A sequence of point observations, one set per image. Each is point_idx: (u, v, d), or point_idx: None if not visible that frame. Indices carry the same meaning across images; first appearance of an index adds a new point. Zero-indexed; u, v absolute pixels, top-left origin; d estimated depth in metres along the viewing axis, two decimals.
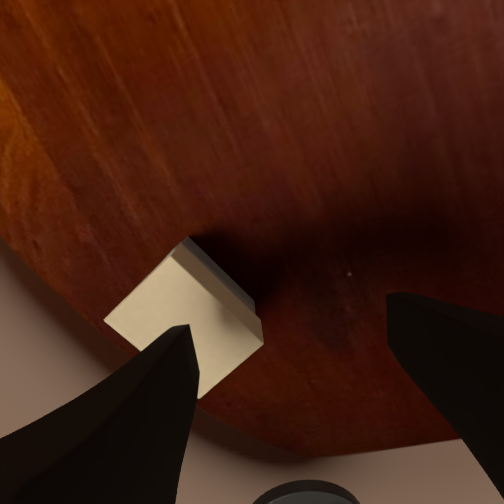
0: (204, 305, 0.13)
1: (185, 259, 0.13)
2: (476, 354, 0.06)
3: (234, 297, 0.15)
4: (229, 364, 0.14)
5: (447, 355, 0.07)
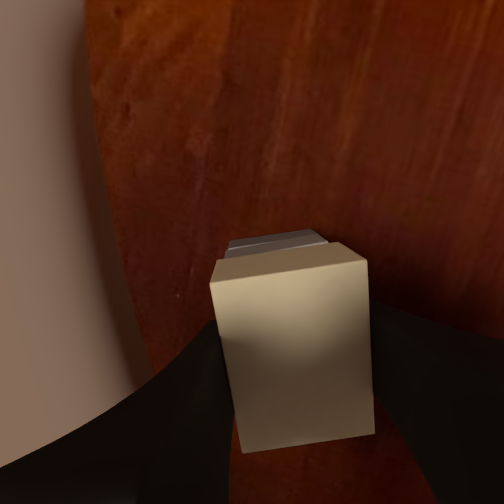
0: (352, 348, 0.08)
1: None
2: (415, 363, 0.06)
3: None
4: (315, 434, 0.09)
5: (394, 363, 0.07)
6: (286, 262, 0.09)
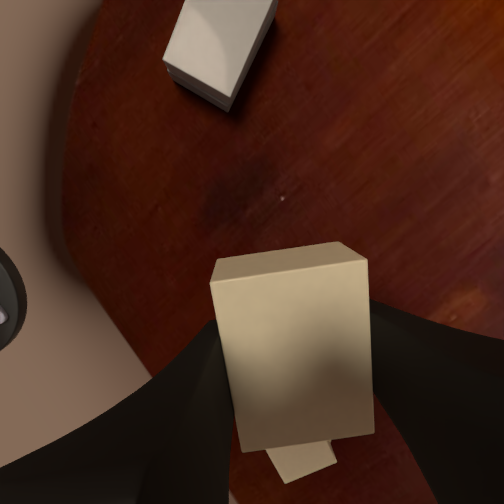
0: (351, 347, 0.08)
1: None
2: (415, 363, 0.06)
3: None
4: (315, 433, 0.09)
5: (394, 363, 0.07)
6: (286, 261, 0.09)
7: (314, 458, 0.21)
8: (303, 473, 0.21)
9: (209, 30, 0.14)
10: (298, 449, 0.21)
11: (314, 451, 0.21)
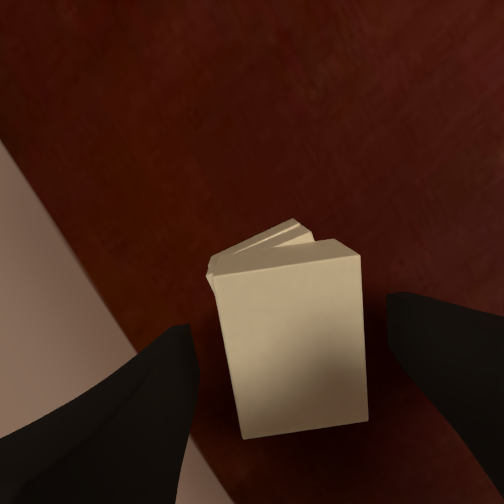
0: (346, 338, 0.09)
1: None
2: (476, 354, 0.06)
3: None
4: (312, 421, 0.10)
5: (447, 355, 0.07)
6: (284, 257, 0.09)
7: None
8: None
9: None
10: None
11: None
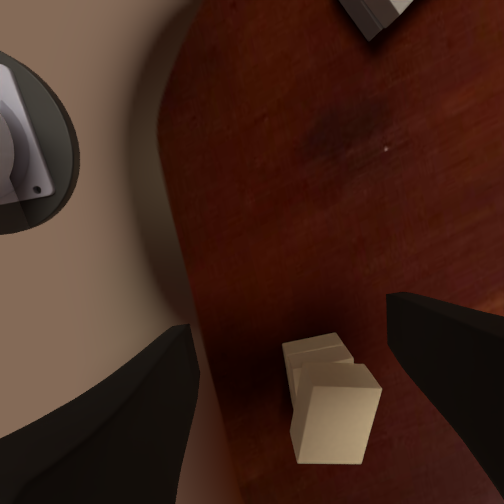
0: (363, 423, 0.18)
1: None
2: (476, 354, 0.06)
3: None
4: (334, 459, 0.19)
5: (447, 355, 0.07)
6: (344, 378, 0.18)
7: None
8: None
9: None
10: None
11: None
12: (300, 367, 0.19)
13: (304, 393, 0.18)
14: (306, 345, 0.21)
